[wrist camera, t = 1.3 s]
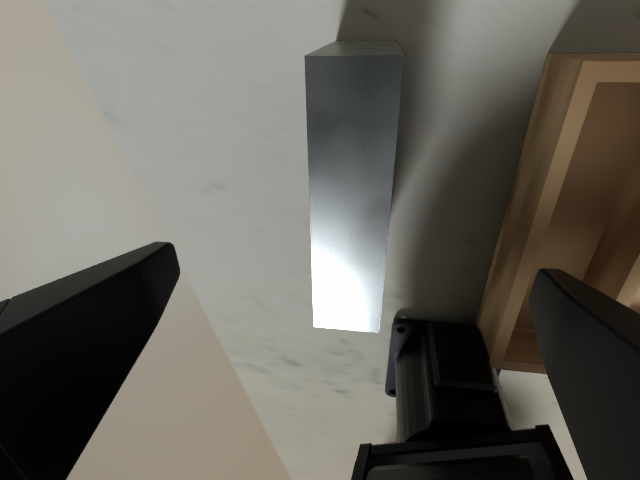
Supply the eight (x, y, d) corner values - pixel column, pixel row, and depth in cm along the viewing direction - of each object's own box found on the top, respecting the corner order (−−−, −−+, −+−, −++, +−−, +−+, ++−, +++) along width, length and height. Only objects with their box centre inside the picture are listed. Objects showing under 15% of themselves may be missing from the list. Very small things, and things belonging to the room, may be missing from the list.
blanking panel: (380, 236, 19) (379, 332, 13) (335, 233, 20) (313, 326, 14) (396, 40, 15) (404, 55, 9) (336, 40, 15) (304, 55, 9)
